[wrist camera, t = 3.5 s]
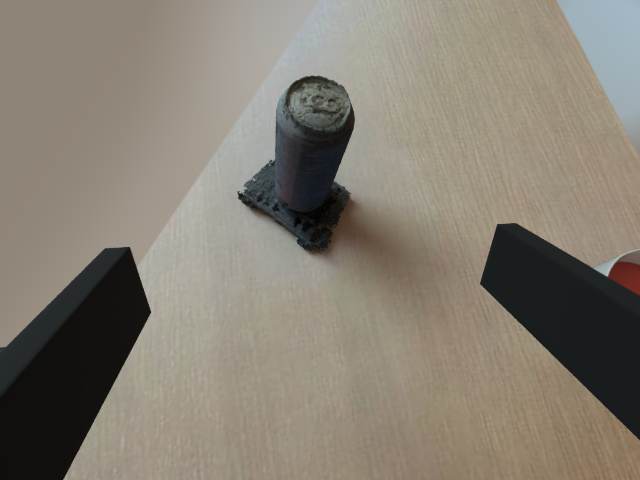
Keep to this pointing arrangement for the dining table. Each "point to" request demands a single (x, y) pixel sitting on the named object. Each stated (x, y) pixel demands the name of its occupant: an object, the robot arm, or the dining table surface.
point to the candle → (623, 270)
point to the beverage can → (306, 161)
